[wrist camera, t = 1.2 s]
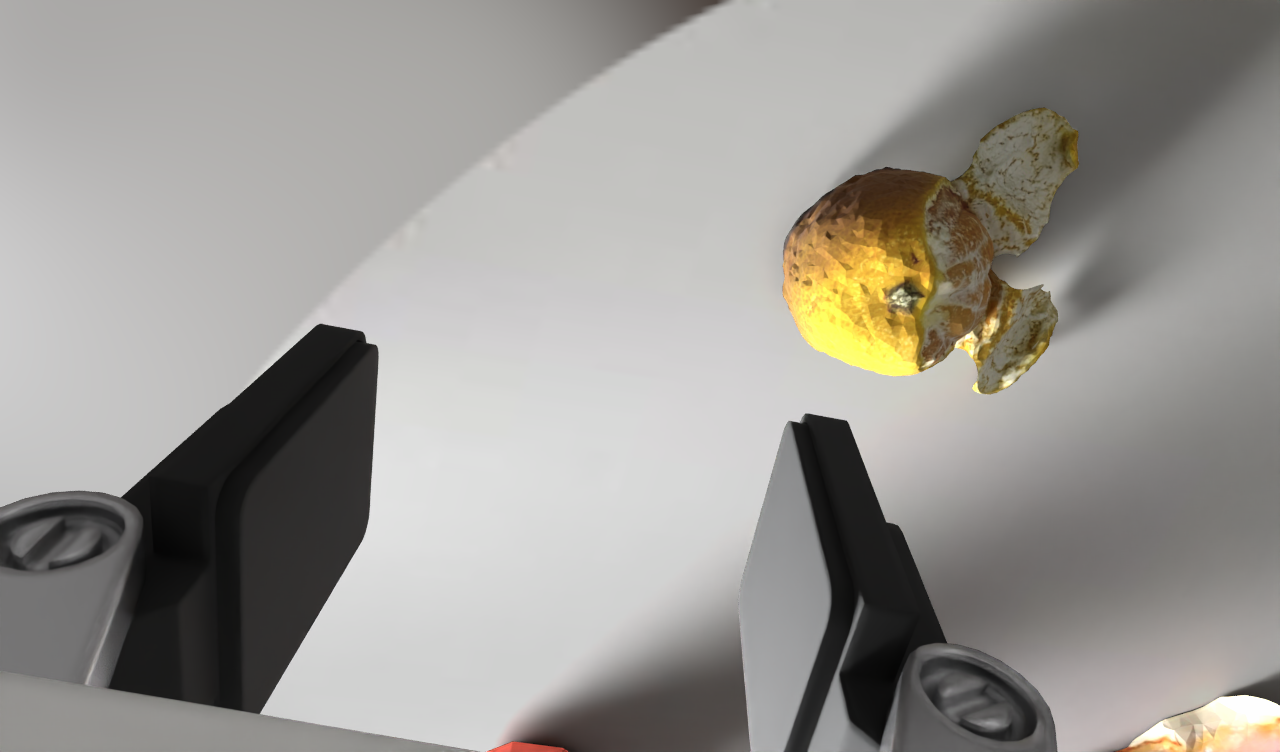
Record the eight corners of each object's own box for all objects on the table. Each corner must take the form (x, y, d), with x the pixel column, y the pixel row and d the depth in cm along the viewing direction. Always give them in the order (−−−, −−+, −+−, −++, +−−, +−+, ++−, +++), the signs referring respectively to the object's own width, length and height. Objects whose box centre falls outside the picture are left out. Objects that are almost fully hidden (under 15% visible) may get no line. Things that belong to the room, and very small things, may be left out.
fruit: (1048, 377, 27) (1099, 430, 24) (781, 392, 28) (794, 447, 24) (1079, 102, 24) (1143, 120, 20) (775, 127, 24) (789, 148, 21)
